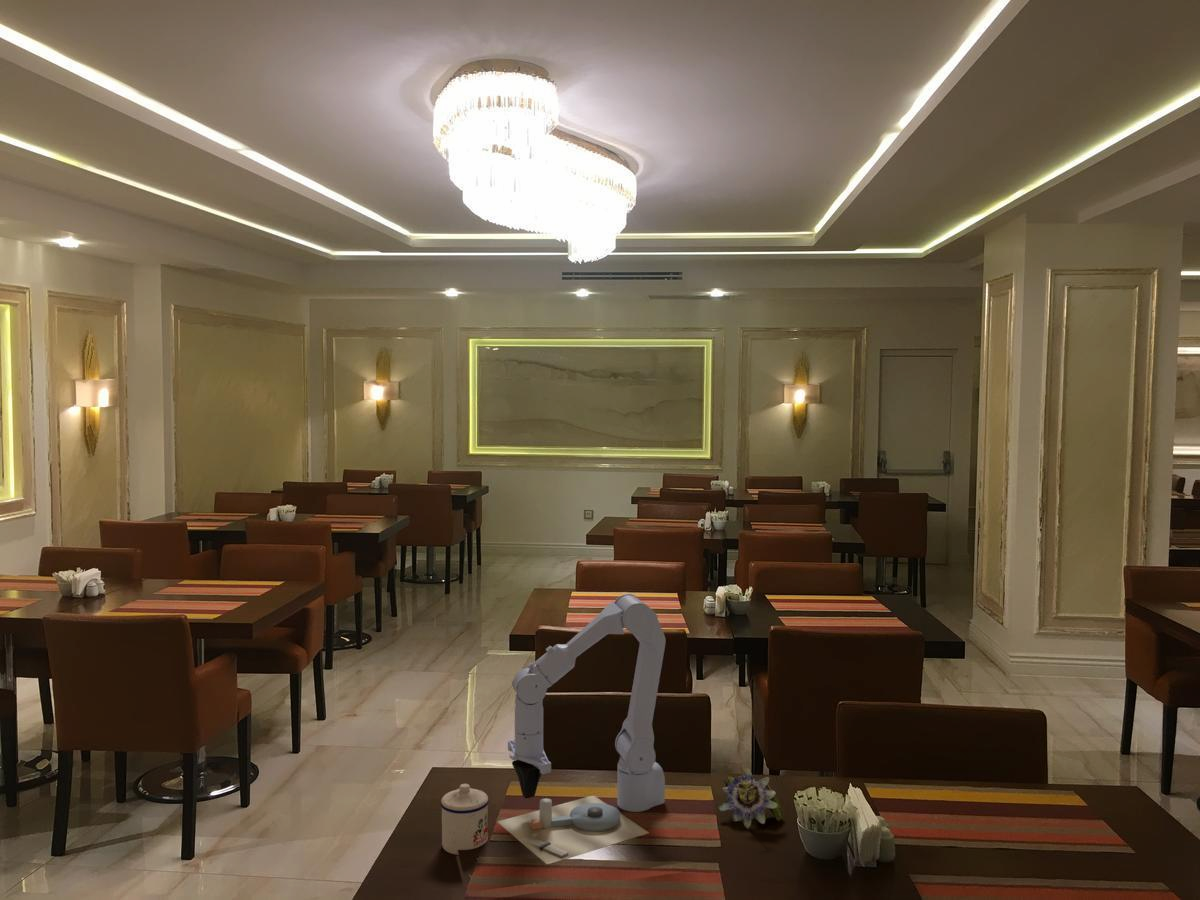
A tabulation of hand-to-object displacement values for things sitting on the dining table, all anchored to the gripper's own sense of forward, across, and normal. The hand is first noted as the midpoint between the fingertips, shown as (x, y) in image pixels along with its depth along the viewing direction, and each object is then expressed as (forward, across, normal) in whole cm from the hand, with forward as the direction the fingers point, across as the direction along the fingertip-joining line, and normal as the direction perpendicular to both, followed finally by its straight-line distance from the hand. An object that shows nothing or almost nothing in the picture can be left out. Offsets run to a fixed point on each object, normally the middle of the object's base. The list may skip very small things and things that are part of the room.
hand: (528, 796), depth 191 cm
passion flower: (+5, +23, +38) cm, 45 cm away
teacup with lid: (+5, +1, -14) cm, 15 cm away
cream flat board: (+5, +9, +4) cm, 11 cm away
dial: (+4, +8, +6) cm, 11 cm away
